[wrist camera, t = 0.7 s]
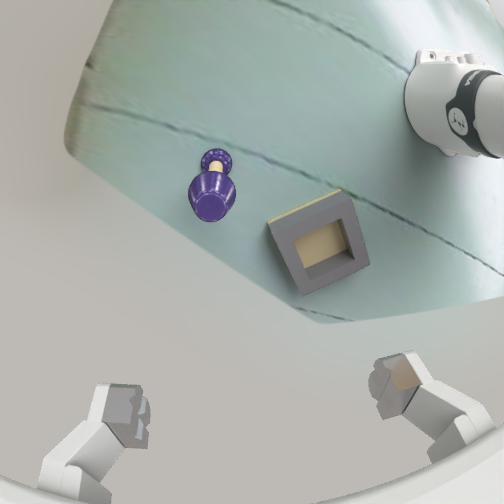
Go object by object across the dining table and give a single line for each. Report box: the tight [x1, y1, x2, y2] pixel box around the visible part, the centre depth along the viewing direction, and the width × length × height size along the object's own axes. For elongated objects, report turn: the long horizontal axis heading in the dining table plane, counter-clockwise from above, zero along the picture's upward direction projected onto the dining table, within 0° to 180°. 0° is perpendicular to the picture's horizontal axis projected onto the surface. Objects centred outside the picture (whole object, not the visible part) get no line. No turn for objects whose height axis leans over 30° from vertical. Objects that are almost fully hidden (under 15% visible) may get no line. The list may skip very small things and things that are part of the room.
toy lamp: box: [188, 149, 236, 222], centre depth 33 cm, size 5×5×17 cm
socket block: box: [267, 188, 370, 297], centre depth 45 cm, size 12×12×4 cm
